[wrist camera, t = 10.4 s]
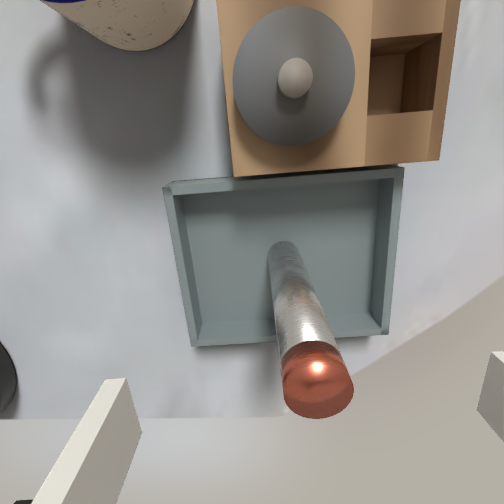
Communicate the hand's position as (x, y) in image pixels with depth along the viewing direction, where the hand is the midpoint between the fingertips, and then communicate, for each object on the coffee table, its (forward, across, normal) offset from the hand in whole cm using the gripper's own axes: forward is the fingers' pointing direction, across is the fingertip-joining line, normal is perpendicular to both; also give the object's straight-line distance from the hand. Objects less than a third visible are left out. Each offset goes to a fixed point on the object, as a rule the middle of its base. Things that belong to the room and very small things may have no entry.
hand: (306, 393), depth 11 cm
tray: (+15, +1, 0) cm, 15 cm away
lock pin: (+14, +1, 0) cm, 14 cm away
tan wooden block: (+15, +4, +11) cm, 19 cm away
